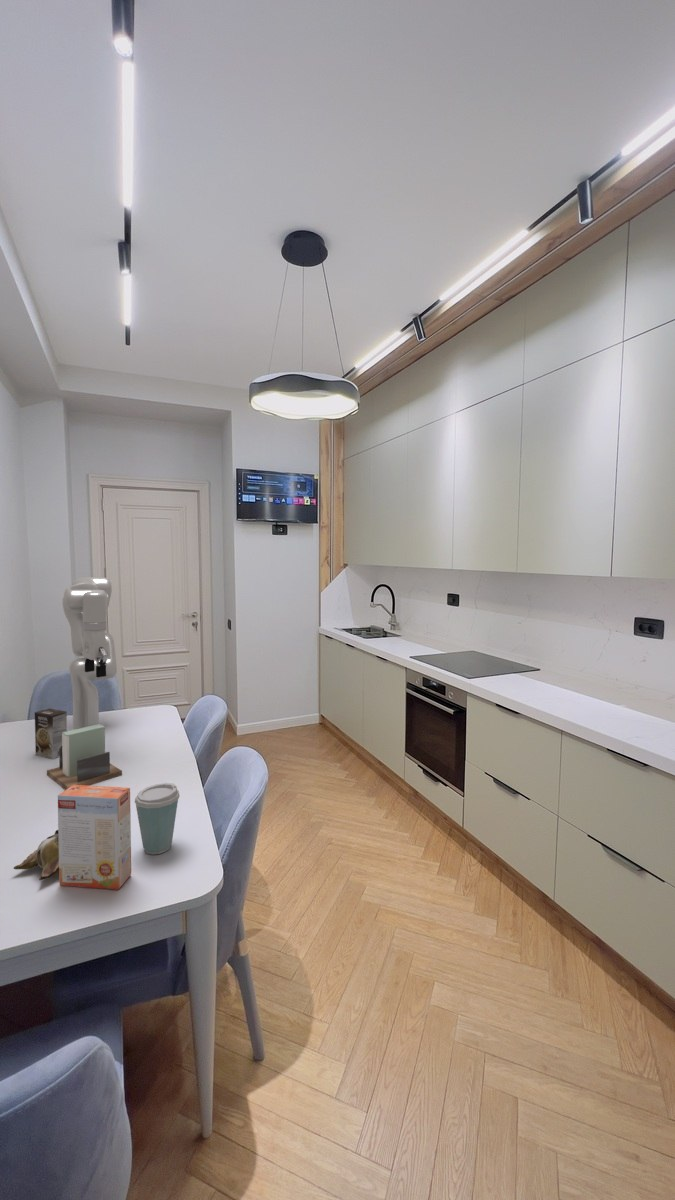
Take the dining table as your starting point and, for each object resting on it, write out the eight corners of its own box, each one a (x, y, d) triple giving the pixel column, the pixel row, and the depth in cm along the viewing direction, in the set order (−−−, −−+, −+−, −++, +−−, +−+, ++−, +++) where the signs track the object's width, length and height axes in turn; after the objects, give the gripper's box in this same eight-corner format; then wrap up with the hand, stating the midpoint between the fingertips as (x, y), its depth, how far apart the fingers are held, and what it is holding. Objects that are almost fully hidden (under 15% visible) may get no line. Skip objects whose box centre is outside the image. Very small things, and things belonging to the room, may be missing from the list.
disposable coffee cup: (135, 863, 118) (134, 802, 117) (134, 840, 128) (133, 784, 127) (181, 854, 122) (181, 795, 121) (177, 832, 132) (177, 777, 131)
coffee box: (34, 755, 182) (33, 712, 181) (50, 749, 188) (49, 707, 187) (52, 759, 179) (51, 715, 178) (68, 753, 185) (67, 710, 184)
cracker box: (132, 874, 114) (131, 786, 113) (118, 891, 108) (117, 798, 107) (75, 869, 116) (73, 782, 114) (58, 886, 110) (56, 794, 108)
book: (62, 774, 163) (62, 732, 162) (100, 763, 172) (99, 724, 171) (67, 777, 161) (66, 735, 160) (105, 766, 170) (104, 726, 169)
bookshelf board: (46, 774, 166) (46, 749, 165) (98, 760, 179) (98, 737, 178) (68, 791, 154) (67, 765, 154) (121, 775, 167) (121, 750, 166)
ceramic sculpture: (98, 820, 121) (39, 856, 107) (101, 853, 122) (42, 892, 109) (70, 810, 125) (9, 843, 112) (72, 842, 127) (12, 879, 113)
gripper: (74, 624, 179) (74, 671, 180) (94, 630, 167) (94, 680, 169) (95, 622, 184) (95, 668, 186) (116, 628, 173) (116, 677, 174)
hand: (95, 674), depth 177 cm, fingers open, 9 cm apart
